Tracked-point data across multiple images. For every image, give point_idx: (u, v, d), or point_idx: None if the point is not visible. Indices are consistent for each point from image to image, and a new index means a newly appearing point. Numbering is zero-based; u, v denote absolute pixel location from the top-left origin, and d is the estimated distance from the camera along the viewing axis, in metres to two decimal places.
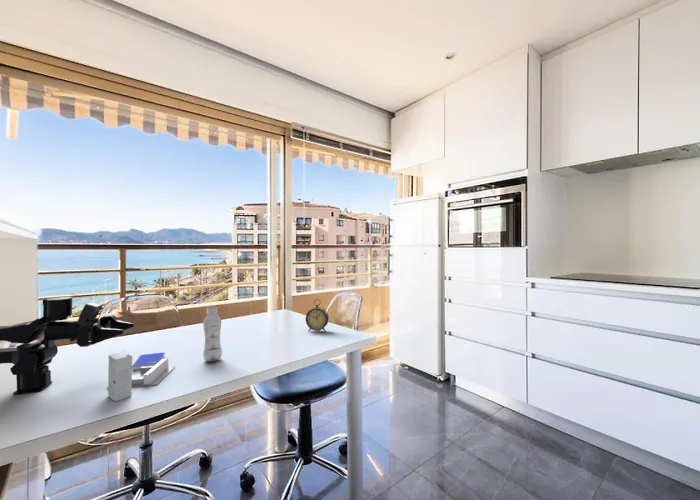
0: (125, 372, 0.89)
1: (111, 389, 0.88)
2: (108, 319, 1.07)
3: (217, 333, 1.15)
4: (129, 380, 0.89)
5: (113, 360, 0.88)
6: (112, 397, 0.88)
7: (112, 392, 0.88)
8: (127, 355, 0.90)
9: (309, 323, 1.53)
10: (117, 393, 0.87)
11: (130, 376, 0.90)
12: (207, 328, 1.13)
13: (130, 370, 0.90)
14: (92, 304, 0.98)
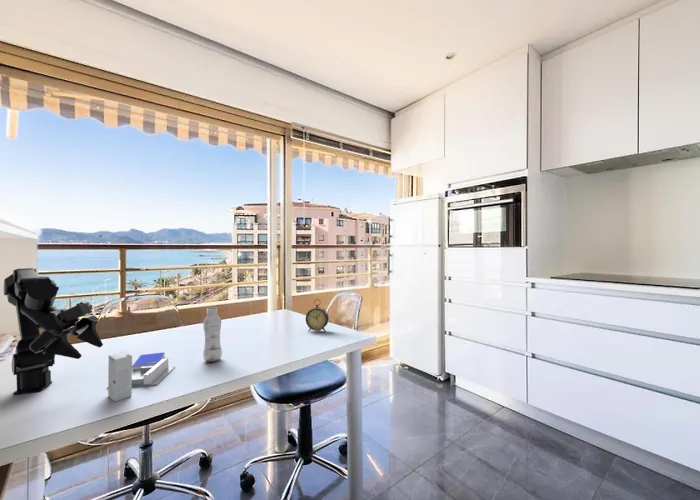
0: (125, 372, 0.89)
1: (111, 389, 0.88)
2: None
3: (217, 333, 1.15)
4: (129, 380, 0.89)
5: (113, 360, 0.88)
6: (112, 397, 0.88)
7: (112, 392, 0.88)
8: (127, 355, 0.90)
9: (309, 323, 1.53)
10: (117, 393, 0.87)
11: (130, 376, 0.90)
12: (207, 328, 1.13)
13: (130, 370, 0.90)
14: (83, 308, 0.88)
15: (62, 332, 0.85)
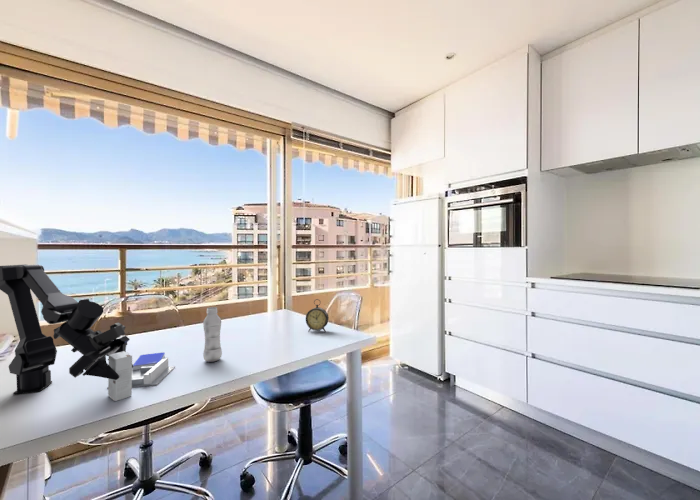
0: (125, 372, 0.89)
1: (111, 389, 0.88)
2: None
3: (217, 333, 1.15)
4: (129, 380, 0.89)
5: (113, 360, 0.88)
6: (112, 397, 0.88)
7: (112, 392, 0.88)
8: (127, 355, 0.90)
9: (309, 323, 1.53)
10: (117, 392, 0.87)
11: (130, 376, 0.90)
12: (207, 328, 1.13)
13: (130, 370, 0.90)
14: (117, 330, 0.89)
15: (100, 353, 0.88)
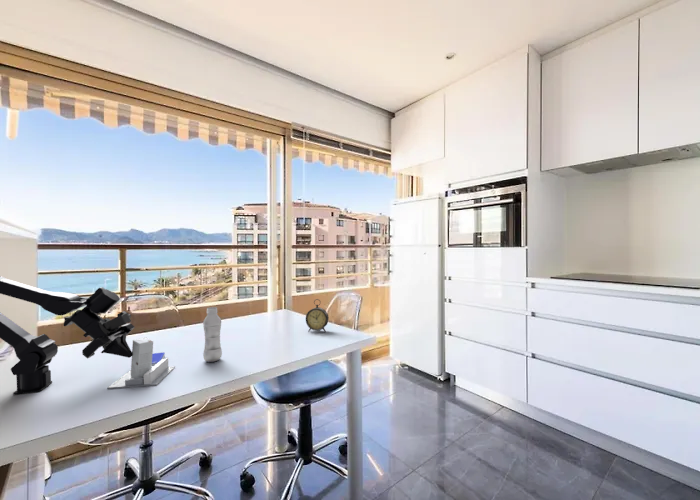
0: (146, 355, 1.00)
1: (134, 370, 1.00)
2: None
3: (217, 333, 1.15)
4: (149, 363, 1.01)
5: (137, 344, 0.99)
6: (134, 377, 0.99)
7: (134, 373, 0.99)
8: (149, 340, 1.01)
9: (309, 323, 1.53)
10: (139, 373, 0.99)
11: (150, 359, 1.01)
12: (207, 328, 1.13)
13: (151, 354, 1.01)
14: (124, 318, 1.00)
15: (115, 335, 1.01)
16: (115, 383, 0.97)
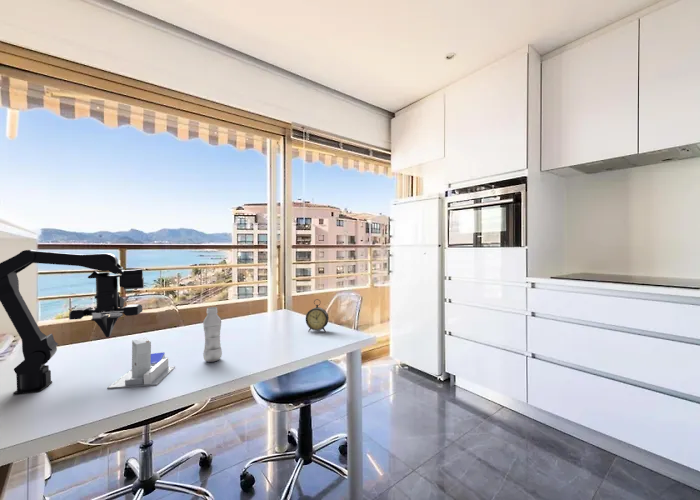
0: (145, 356, 1.00)
1: (133, 370, 1.00)
2: None
3: (217, 333, 1.15)
4: (148, 363, 1.01)
5: (135, 345, 0.99)
6: (134, 377, 0.99)
7: (134, 373, 0.99)
8: (147, 341, 1.01)
9: (309, 323, 1.53)
10: (138, 374, 0.99)
11: (149, 360, 1.01)
12: (207, 328, 1.13)
13: (149, 354, 1.01)
14: None
15: (102, 311, 1.04)
16: (115, 383, 0.97)
